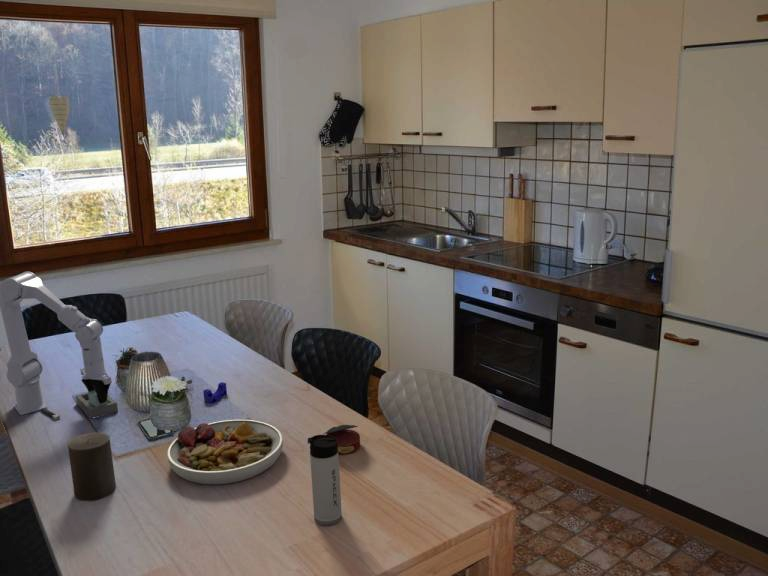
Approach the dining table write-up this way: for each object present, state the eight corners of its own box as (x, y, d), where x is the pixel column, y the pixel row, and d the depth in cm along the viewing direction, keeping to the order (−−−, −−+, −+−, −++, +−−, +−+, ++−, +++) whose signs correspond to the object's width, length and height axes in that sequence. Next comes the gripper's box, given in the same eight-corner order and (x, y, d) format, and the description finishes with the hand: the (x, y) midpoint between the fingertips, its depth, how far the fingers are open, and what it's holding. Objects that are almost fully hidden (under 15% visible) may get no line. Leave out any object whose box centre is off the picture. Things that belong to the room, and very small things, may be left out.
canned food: (327, 468, 196) (308, 438, 195) (341, 448, 205) (323, 419, 203) (360, 457, 191) (340, 426, 189) (373, 436, 200) (355, 406, 198)
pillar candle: (91, 505, 173) (83, 448, 169) (66, 494, 178) (58, 439, 174) (124, 487, 181) (117, 432, 177) (99, 477, 186) (92, 423, 182)
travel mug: (312, 511, 167) (307, 433, 162) (341, 509, 168) (337, 431, 162) (312, 527, 161) (307, 446, 156) (342, 525, 162) (337, 443, 156)
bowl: (302, 442, 202) (300, 416, 200) (249, 498, 175) (246, 469, 173) (209, 429, 212) (206, 405, 210) (145, 481, 184) (141, 453, 182)
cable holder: (212, 404, 229) (210, 392, 228) (204, 402, 231) (203, 390, 230) (230, 395, 235) (229, 384, 234) (222, 393, 237) (221, 382, 236)
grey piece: (76, 404, 232) (75, 395, 231) (102, 397, 237) (100, 388, 236) (92, 419, 221) (90, 409, 220) (118, 411, 226) (116, 402, 225)
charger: (90, 407, 225) (87, 391, 224) (101, 402, 228) (99, 387, 227) (96, 410, 223) (94, 394, 222) (108, 405, 226) (106, 390, 224)
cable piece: (41, 412, 227) (40, 408, 227) (45, 410, 228) (44, 407, 228) (55, 420, 221) (55, 416, 221) (60, 418, 222) (59, 415, 222)
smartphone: (161, 415, 221) (174, 432, 208) (161, 418, 221) (175, 435, 209) (136, 421, 217) (149, 439, 205) (136, 424, 217) (149, 442, 205)
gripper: (68, 358, 223) (75, 399, 227) (93, 368, 214) (99, 410, 218) (90, 352, 229) (96, 392, 232) (115, 361, 220) (120, 402, 223)
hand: (99, 400), depth 225 cm, fingers closed on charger, 4 cm apart
